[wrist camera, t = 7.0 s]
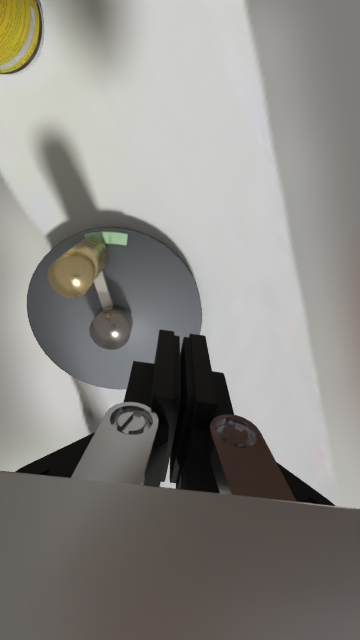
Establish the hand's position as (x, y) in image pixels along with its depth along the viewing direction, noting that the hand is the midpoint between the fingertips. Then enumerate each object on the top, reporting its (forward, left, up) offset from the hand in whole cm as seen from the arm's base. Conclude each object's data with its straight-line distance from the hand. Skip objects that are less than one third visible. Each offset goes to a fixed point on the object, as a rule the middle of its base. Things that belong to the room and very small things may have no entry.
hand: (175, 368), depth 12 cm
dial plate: (-6, +3, -15) cm, 17 cm away
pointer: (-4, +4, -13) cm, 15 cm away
